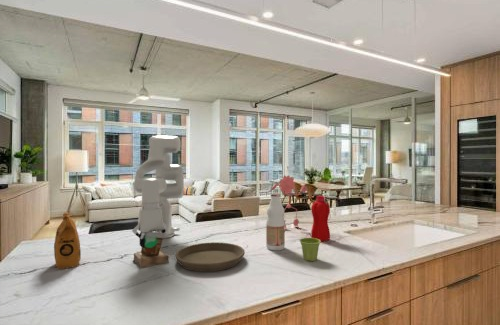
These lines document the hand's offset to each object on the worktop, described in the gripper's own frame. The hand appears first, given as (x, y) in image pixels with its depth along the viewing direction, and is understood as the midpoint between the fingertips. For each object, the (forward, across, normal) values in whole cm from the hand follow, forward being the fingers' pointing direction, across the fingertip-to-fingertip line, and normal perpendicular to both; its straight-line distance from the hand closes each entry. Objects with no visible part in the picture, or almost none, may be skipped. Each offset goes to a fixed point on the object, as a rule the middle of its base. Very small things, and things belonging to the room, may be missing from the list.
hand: (150, 245), depth 131 cm
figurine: (+7, -94, -12) cm, 95 cm away
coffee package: (+7, +31, -17) cm, 36 cm away
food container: (+3, +2, 0) cm, 4 cm away
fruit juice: (+7, -58, +18) cm, 61 cm away
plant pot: (+7, -60, +40) cm, 72 cm away
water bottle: (+7, -89, +22) cm, 92 cm away
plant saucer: (+8, -22, +15) cm, 28 cm away
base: (+7, 0, 0) cm, 7 cm away
